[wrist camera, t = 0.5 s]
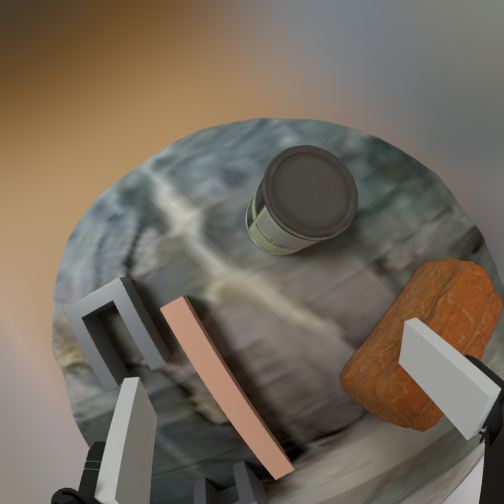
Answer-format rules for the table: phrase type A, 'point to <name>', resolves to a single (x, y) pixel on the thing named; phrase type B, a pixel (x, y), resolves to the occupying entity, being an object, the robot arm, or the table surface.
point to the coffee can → (301, 201)
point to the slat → (225, 386)
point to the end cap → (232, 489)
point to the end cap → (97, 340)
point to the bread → (437, 319)
